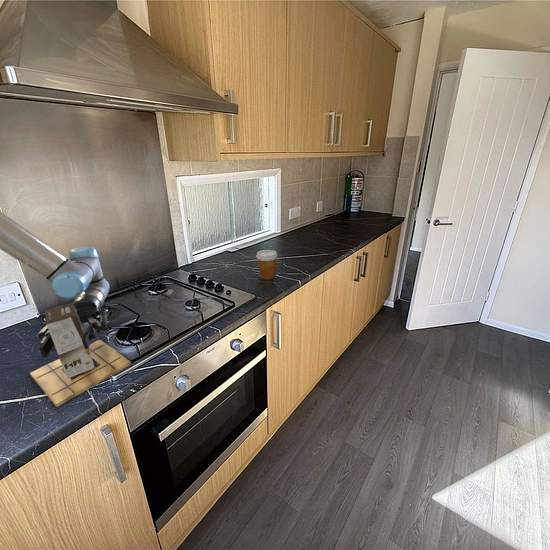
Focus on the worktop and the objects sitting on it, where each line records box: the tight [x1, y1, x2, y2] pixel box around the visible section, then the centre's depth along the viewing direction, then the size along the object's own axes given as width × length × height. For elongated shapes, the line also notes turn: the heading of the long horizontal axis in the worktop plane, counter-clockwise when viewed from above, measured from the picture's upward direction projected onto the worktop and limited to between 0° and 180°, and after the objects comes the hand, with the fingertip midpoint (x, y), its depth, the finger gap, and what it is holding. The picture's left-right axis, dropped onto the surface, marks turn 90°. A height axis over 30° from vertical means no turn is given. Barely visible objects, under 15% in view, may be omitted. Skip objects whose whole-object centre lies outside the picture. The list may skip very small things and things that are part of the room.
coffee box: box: [45, 302, 94, 378], centre depth 75 cm, size 9×6×16 cm
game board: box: [29, 339, 132, 408], centre depth 79 cm, size 18×18×2 cm
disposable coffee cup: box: [255, 249, 279, 280], centre depth 131 cm, size 10×10×12 cm
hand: (64, 348), depth 71 cm, fingers closed on coffee box, 8 cm apart
